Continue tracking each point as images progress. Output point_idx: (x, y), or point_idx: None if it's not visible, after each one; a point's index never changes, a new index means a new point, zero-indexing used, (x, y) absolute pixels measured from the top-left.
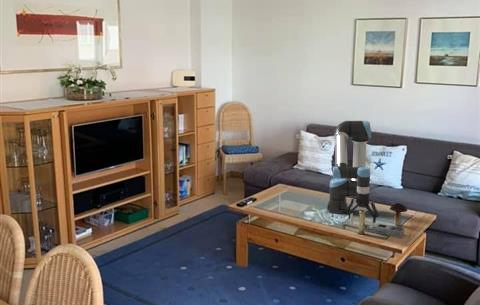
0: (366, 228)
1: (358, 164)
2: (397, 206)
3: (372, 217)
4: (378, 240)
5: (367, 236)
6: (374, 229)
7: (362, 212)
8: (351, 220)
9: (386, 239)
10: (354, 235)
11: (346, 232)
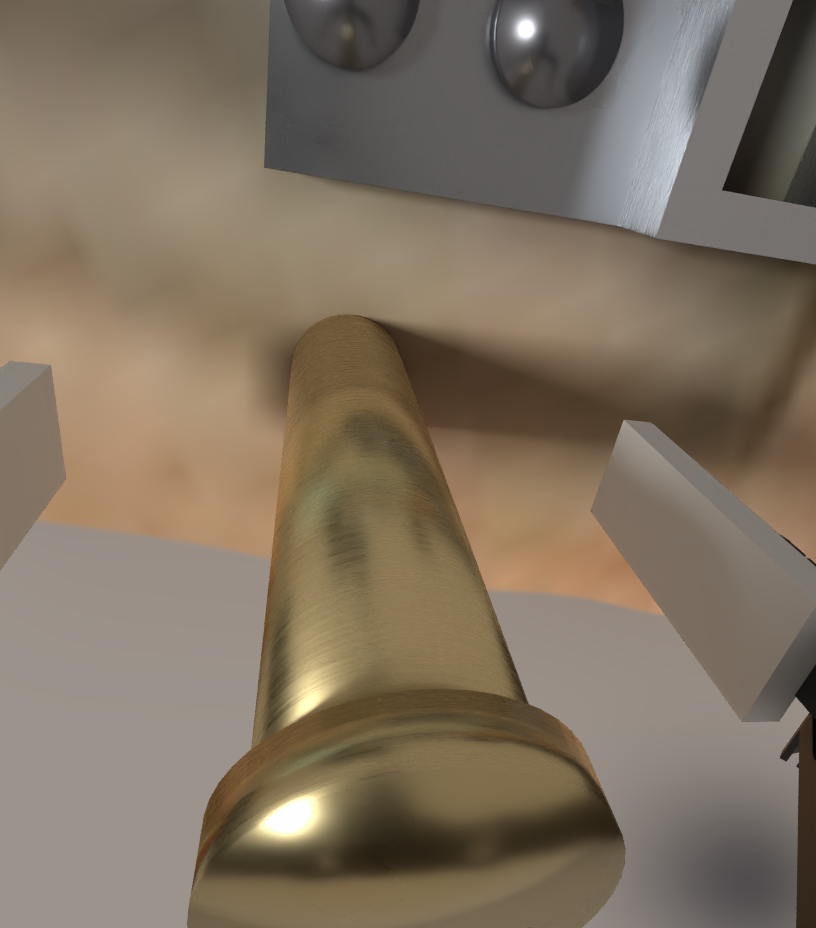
0: (424, 193)
1: None
2: None
3: (774, 682)
4: None
5: (472, 455)
6: (615, 205)
7: None
8: (15, 520)
9: (765, 453)
10: (254, 501)
11: None
